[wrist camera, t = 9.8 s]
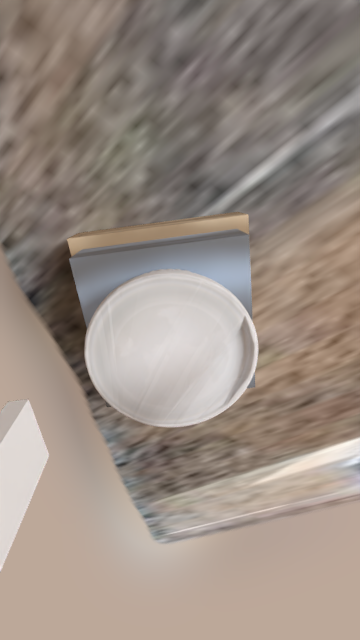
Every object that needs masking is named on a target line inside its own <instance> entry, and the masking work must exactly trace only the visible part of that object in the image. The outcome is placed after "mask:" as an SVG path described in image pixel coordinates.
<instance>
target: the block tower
mask: <svg viewBox="0 0 360 640" xmlns="http://www.w3.org/2000/svg"><path fill="white" fill-rule="evenodd" d="M67 241H68V245H69V249H70V253H71V258H69V261H70V265H71V269H72V273H73V277H74V280H75V284H76V288H77V292H78V296H79V300H80V304H81V308H82V312H83V316H84V320H85V323H86V327H87V329H88V326H89V323H90V321H91V319H92V317H93V315H94V313H95V311H96V309H97V308H98V306H99V305H100V304H101V302H102V301H103V300H104V299H105V298H106V297H107V296H108V295H109V294H110V293H111V292H112V291H113V290H114V289H116V288H117V287H118V286H120V285H121V284H123V283H124V282H126V281H128V280H130V279H132V278H134V277H137V276H140V275H142V274H144V273H149V272H151V271H155V270H159V269H180V270H188V271H190V272H192V273H197V274H199V275H202V276H205V277H207V278H210V279H212V280H214V281H216V282H217V283H219V284H221V285H222V286H224V287H225V288H226V289H228V290H229V291H230V292H231V293H232V294H233V295H235V296H236V297H237V299H238V300H239V301H240V302H241V303H242V305H243V306H244V308H245V309H246V311H247V312H248V314H249V316H250V318H251V320H252V295H251V270H250V246H249V221H248V214H244V213H240V212H233V213H225V214H218V215H210V216H203V217H195V218H188V219H180V220H173V221H165V222H158V223H150V224H143V225H135V226H128V227H121V228H113V229H106V230H98V231H91V232H83V233H78V234H76V235H74V236H72V237H70V238H68V239H67ZM252 322H253V320H252ZM252 387H255V372H254V375H253V377H252V379H251V382H250V383H249V385H248V386H247V388H252ZM105 402H106V401H105ZM106 406H107V407H111V406H110V405H109V404H108V403H107V402H106Z"/></svg>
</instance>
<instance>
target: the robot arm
mask: <svg viewBox="0 0 360 640" xmlns="http://www.w3.org/2000/svg"><path fill="white" fill-rule="evenodd" d="M48 457H49V453H48V451H47V448H46V445H45V442H44V440H43V437H42V434H41V432H40V429H39V426H38V424H37V421H36V418H35V416H34V412H33V410H32V407H31V404H30V402H29V399H25V400H16V401H8V402H7V403H6V405H5V406H4V408H3V409H2V410H1V412H0V571H1V569H2V567H3V564H4V562H5V559H6V557H7V555H8V552H9V549H10V548H11V545H12V543H13V540H14V538H15V536H16V533H17V531H18V528H19V526H20V524H21V521H22V519H23V517H24V514H25V512H26V510H27V507H28V505H29V502H30V500H31V497H32V495H33V493H34V491H35V488H36V486H37V484H38V481H39V479H40V476H41V474H42V472H43V469H44V467H45V464H46V462H47V460H48Z"/></svg>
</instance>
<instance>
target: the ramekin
mask: <svg viewBox="0 0 360 640" xmlns="http://www.w3.org/2000/svg"><path fill="white" fill-rule="evenodd" d="M84 356H85V363H86V367H87V370H88V373H89V376H90V379H91V381H92V383H93V385H94V387H95V388H96V390H97V391H98V392H99V394H100V395H101V396H102V397H103V399H105V401H106V402H107V403H108V404H109V405H110V406H112V407H113V408H114V409H116V410H117V411H118V412H120V413H122V414H123V415H125V416H127V417H128V418H131V419H133V420H136V421H138V422H141V423H144V424H147V425H151V426H157V427H183V426H189V425H194V424H197V423H200V422H203V421H206V420H208V419H211V418H213V417H215V416H217V415H218V414H220V413H222V412H223V411H225V410H226V409H227V408H229V407H230V406H231V405H232V404H233V403H234V402H235V401H236V400H238V399H239V397H240V396H241V395H242V394H243V393H244V391H245V390H246V388H247V386H248V385H249V383H250V382H251V379H252V377H253V375H254V372H255V369H256V365H257V359H258V339H257V334H256V330H255V327H254V324H253V322H252V320H251V318H250V316H249V314H248V312H247V311H246V309H245V308H244V306H243V305H242V303H241V302H240V301H239V300H238V299H237V297H236V296H235V295H233V294H232V293H231V292H230V291H229V290H228V289H226V288H225V287H224V286H222V285H221V284H219V283H217V282H216V281H214V280H212V279H210V278H207V277H205V276H202V275H199V274H197V273H192V272H190V271H188V270H180V269H159V270H155V271H151V272H149V273H144V274H142V275H140V276H137V277H134V278H132V279H130V280H128V281H126V282H124V283H123V284H121V285H120V286H118V287H117V288H116V289H114V290H113V291H112V292H111V293H110V294H109V295H108V296H107V297H106V298H105V299H104V300H103V301H102V302H101V304H100V305H99V306H98V308H97V309H96V311H95V313H94V315H93V317H92V319H91V321H90V323H89V326H88V329H87V333H86V337H85V347H84Z"/></svg>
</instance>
